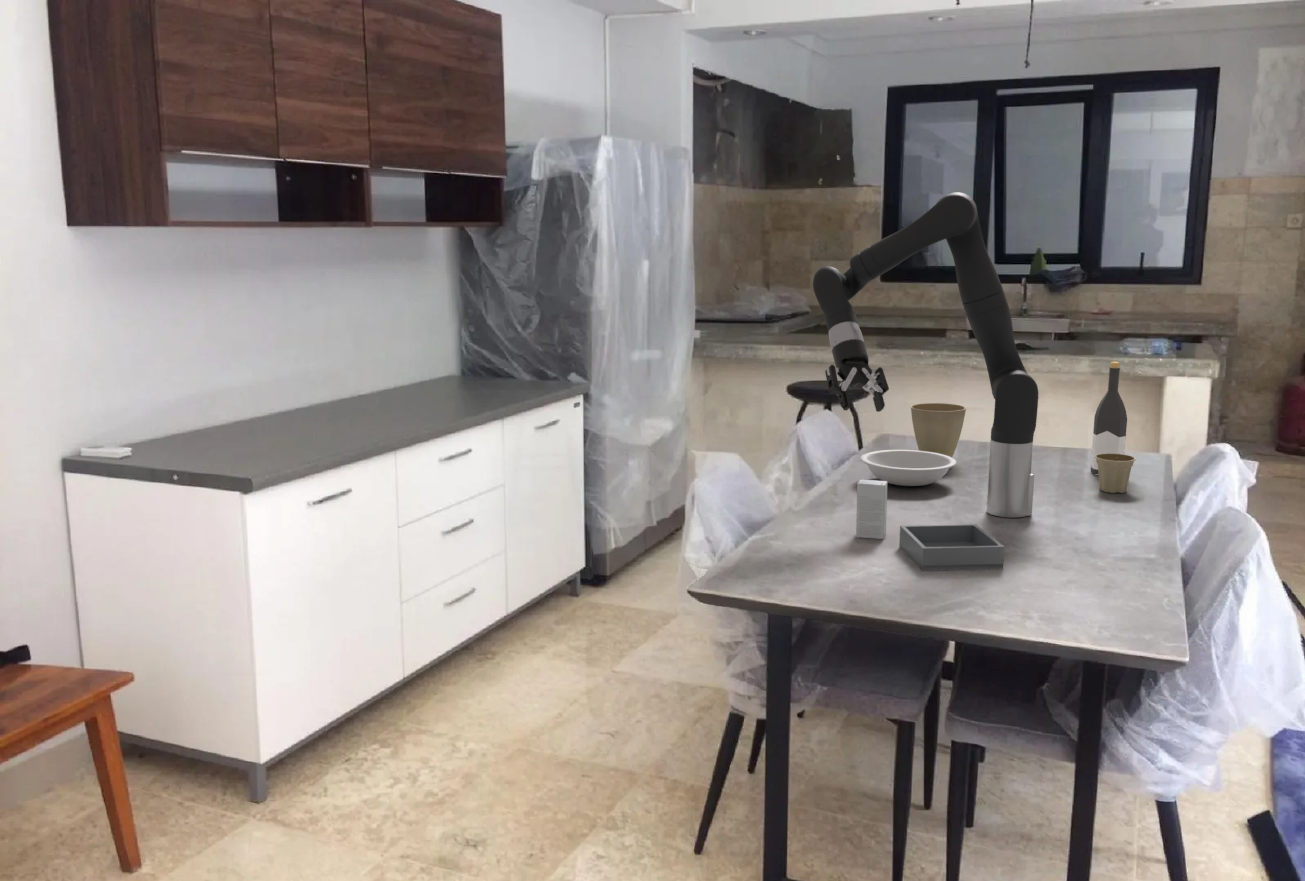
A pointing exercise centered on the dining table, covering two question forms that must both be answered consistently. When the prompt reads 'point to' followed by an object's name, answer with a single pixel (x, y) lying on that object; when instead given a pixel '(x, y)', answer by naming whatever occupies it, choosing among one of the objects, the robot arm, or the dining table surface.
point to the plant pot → (938, 426)
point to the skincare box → (871, 509)
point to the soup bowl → (908, 466)
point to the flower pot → (1114, 471)
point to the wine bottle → (1109, 421)
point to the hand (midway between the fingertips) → (864, 409)
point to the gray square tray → (951, 547)
